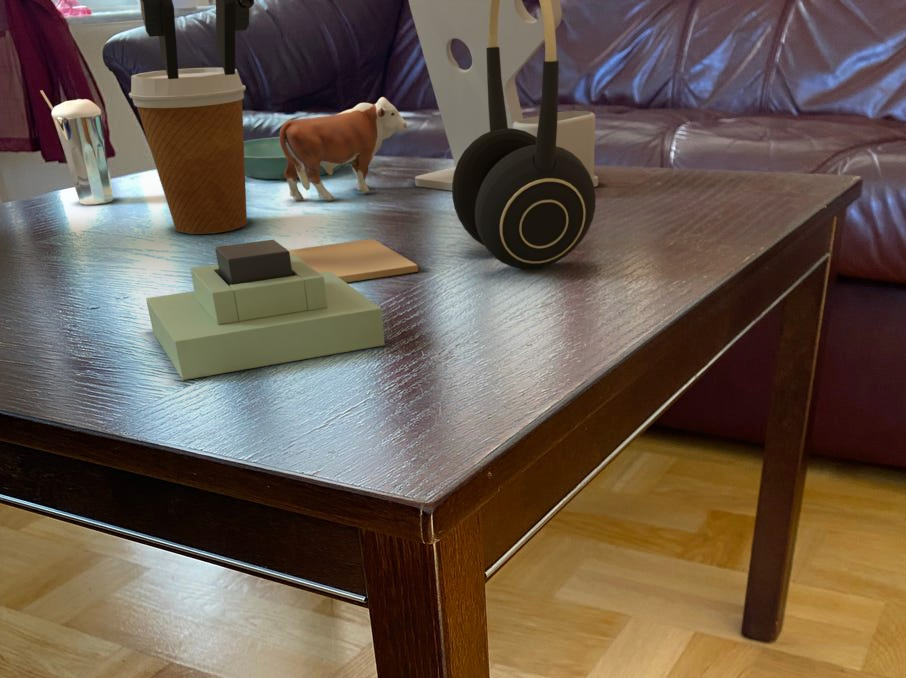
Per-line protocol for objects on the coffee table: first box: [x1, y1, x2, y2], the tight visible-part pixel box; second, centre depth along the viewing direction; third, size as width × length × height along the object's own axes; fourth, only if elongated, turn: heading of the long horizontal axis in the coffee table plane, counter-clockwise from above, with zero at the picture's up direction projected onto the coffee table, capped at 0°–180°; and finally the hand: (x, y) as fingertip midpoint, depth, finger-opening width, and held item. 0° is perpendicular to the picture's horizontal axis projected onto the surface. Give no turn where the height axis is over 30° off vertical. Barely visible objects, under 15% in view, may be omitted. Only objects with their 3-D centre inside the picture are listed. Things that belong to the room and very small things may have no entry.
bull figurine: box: [278, 96, 408, 202], centre depth 99 cm, size 4×13×8 cm, turn 124°
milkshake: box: [39, 89, 114, 206], centre depth 100 cm, size 5×5×10 cm
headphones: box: [451, 0, 597, 270], centre depth 71 cm, size 9×15×20 cm, turn 14°
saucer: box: [244, 136, 344, 180], centre depth 113 cm, size 15×15×3 cm
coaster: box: [287, 238, 419, 283], centre depth 77 cm, size 10×10×1 cm
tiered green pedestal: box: [145, 254, 386, 381], centre depth 61 cm, size 10×12×4 cm
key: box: [214, 239, 293, 286], centre depth 60 cm, size 4×4×2 cm
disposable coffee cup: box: [128, 67, 248, 235], centre depth 87 cm, size 10×10×12 cm
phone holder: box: [408, 0, 599, 192], centre depth 97 cm, size 17×10×18 cm, turn 49°
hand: (197, 60), depth 76 cm, fingers open, 3 cm apart
